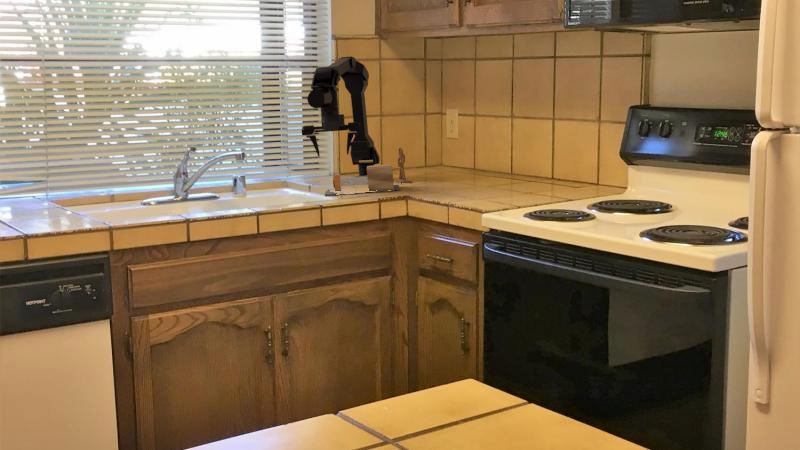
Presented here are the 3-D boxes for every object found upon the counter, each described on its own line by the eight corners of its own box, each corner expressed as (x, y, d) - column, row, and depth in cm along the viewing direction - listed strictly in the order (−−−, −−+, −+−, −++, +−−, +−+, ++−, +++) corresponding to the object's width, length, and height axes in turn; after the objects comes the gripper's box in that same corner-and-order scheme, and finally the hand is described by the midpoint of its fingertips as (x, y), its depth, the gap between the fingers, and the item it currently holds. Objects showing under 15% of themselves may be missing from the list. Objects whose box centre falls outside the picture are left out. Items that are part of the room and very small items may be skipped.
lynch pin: (334, 189, 297) (332, 173, 296) (383, 185, 297) (382, 170, 296) (333, 191, 292) (332, 175, 291) (384, 187, 292) (383, 171, 292)
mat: (326, 191, 300) (325, 190, 300) (398, 186, 301) (398, 184, 300) (325, 196, 289) (324, 194, 289) (400, 190, 290) (400, 188, 290)
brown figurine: (394, 181, 315) (391, 147, 313) (404, 180, 316) (402, 146, 314) (400, 184, 306) (398, 148, 304) (411, 183, 307) (409, 147, 305)
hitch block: (368, 187, 300) (366, 166, 298) (392, 185, 300) (391, 164, 299) (368, 191, 290) (367, 169, 289) (393, 189, 290) (392, 167, 289)
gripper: (299, 109, 280) (303, 159, 283) (359, 105, 281) (363, 155, 284) (300, 108, 291) (304, 156, 294) (358, 104, 292) (361, 152, 295)
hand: (333, 155), depth 291 cm, fingers open, 9 cm apart
